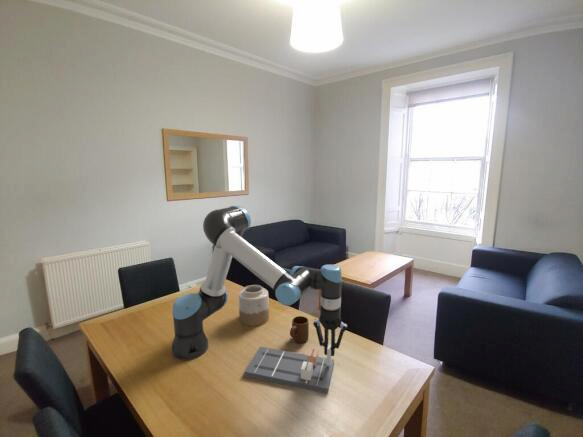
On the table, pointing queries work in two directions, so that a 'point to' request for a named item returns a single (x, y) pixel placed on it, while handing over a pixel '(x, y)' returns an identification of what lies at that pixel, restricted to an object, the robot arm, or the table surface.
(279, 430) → the table surface
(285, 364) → the console
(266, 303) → the vase
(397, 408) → the table surface
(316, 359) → the fader
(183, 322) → the robot arm
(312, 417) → the table surface
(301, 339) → the mug
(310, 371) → the block
